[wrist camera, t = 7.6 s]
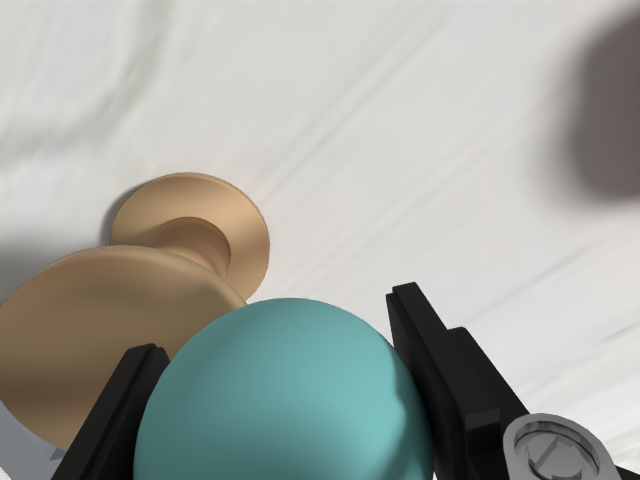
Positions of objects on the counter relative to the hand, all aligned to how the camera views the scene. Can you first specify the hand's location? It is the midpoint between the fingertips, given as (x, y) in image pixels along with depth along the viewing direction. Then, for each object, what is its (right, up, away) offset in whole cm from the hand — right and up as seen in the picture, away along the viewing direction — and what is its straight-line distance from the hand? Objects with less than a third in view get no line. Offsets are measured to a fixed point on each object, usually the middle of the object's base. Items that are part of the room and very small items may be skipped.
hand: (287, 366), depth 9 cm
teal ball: (0, 0, +1) cm, 1 cm away
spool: (-8, +3, +17) cm, 19 cm away
